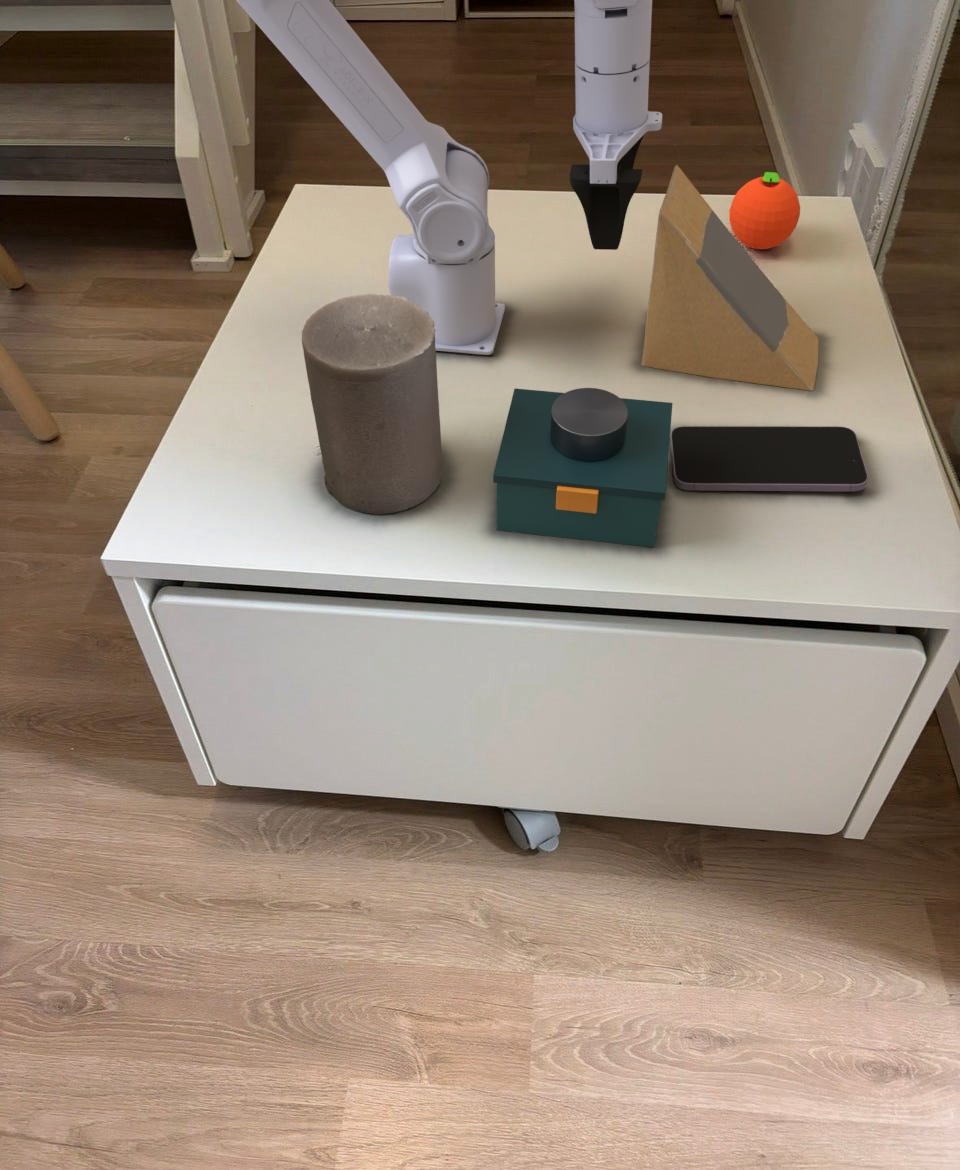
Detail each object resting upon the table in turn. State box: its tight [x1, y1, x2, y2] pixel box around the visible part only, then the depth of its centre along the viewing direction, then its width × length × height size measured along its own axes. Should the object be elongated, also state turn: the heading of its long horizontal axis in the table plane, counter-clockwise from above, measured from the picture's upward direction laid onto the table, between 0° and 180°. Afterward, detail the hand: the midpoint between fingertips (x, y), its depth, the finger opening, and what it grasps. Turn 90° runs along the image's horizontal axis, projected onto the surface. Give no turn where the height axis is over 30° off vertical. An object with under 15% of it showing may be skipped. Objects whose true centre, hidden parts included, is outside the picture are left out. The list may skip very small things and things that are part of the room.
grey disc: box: [550, 387, 628, 462], centre depth 76 cm, size 6×6×2 cm
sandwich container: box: [641, 164, 820, 392], centre depth 88 cm, size 9×15×15 cm, turn 74°
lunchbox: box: [492, 388, 673, 548], centre depth 79 cm, size 12×11×6 cm
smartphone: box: [669, 425, 869, 493], centre depth 83 cm, size 7×1×15 cm
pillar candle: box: [301, 293, 443, 515], centre depth 78 cm, size 10×10×15 cm
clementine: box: [728, 171, 801, 250], centre depth 104 cm, size 8×7×7 cm
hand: (609, 224), depth 89 cm, fingers open, 7 cm apart
